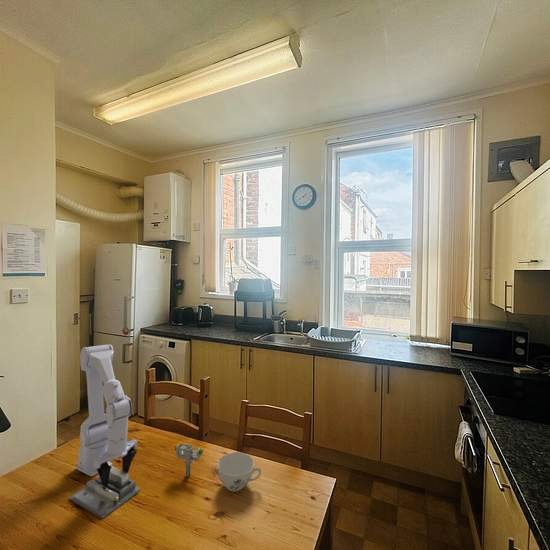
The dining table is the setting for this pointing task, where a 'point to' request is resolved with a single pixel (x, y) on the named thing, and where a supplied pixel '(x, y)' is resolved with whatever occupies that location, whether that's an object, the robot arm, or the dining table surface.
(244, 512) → the dining table surface
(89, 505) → the fixed leaf
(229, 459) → the teacup
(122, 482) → the brushed steel bar
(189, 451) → the mechanical component
